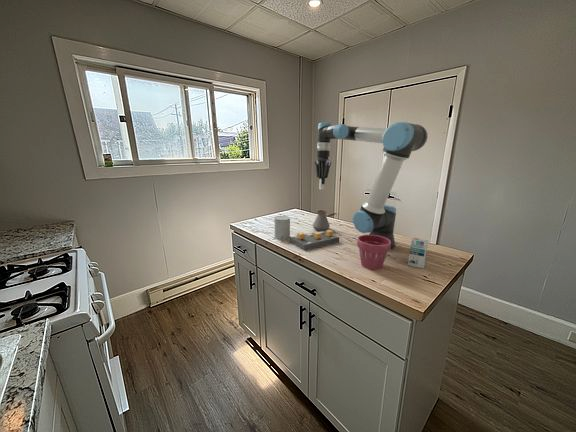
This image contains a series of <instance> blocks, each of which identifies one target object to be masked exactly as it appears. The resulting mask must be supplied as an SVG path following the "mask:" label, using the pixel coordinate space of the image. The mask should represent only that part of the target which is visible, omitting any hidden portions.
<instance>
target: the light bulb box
mask: <svg viewBox="0 0 576 432" xmlns="http://www.w3.org/2000/svg"><path fill="white" fill-rule="evenodd" d="M428 242H429V240H428V239H423V238H418V237H412V239H411V241H410V248H409V255H408V261H407V262H408V263H407V266H411V267H415V268H419V269H424V268H425V266H426V265H425V264H426V259H427V252H428V244H429V243H428Z"/></svg>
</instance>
